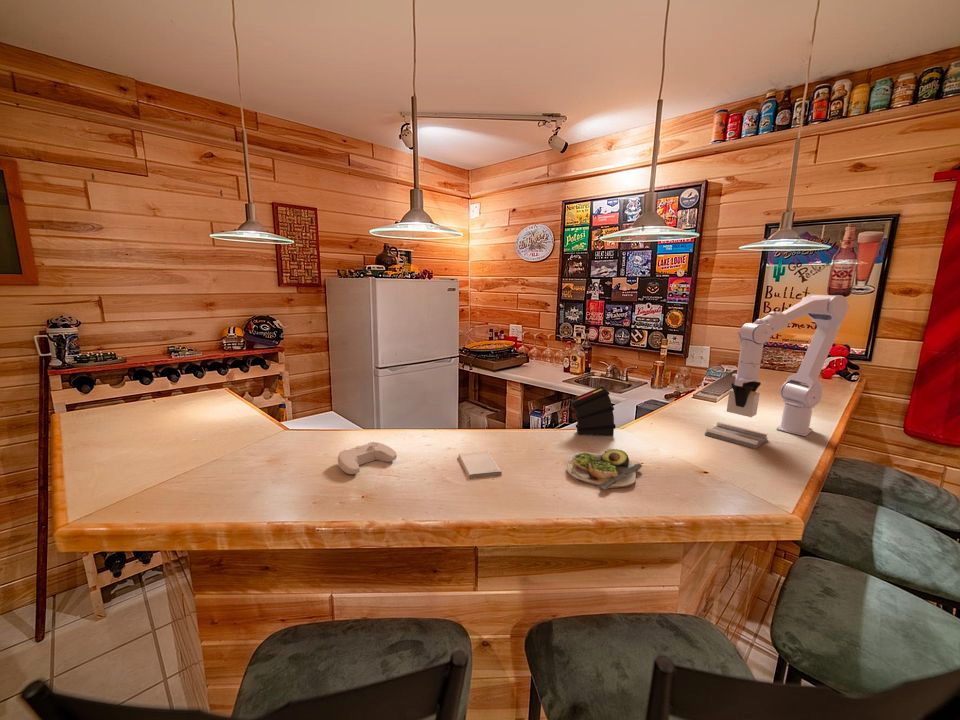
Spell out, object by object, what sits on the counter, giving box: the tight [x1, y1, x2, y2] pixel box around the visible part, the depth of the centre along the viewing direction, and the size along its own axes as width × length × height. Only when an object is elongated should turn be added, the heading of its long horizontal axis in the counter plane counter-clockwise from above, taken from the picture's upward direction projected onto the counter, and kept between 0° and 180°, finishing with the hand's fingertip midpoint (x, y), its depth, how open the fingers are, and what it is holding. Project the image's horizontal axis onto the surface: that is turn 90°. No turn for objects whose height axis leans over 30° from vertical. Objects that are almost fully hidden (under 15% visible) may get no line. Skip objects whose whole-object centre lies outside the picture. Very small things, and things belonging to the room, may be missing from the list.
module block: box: [726, 388, 761, 418], centre depth 132 cm, size 4×7×7 cm, turn 41°
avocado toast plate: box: [566, 448, 643, 490], centre depth 104 cm, size 19×18×5 cm
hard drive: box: [458, 451, 503, 480], centre depth 108 cm, size 2×8×12 cm
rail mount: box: [704, 421, 769, 450], centre depth 131 cm, size 11×14×2 cm
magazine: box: [570, 385, 617, 437], centre depth 131 cm, size 4×13×15 cm, turn 88°
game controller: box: [337, 441, 398, 475], centre depth 108 cm, size 14×4×10 cm
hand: (742, 404), depth 132 cm, fingers closed on module block, 4 cm apart
